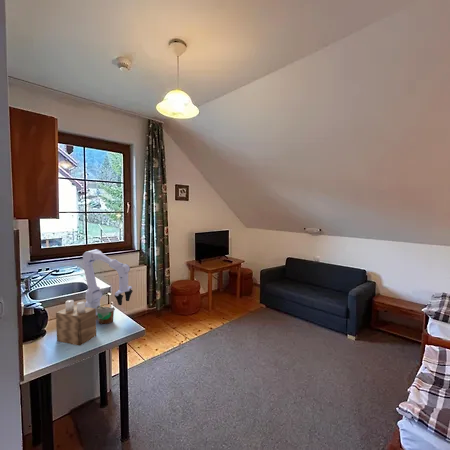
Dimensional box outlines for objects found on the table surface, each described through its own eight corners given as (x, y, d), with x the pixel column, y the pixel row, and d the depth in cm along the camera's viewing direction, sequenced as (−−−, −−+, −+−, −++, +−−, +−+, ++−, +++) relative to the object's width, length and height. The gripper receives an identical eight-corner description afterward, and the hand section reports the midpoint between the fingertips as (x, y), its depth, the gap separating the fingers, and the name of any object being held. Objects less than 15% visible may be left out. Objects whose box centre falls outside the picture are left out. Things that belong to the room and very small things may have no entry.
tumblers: (64, 310, 149) (63, 302, 149) (70, 308, 153) (69, 299, 152) (81, 313, 145) (80, 304, 145) (86, 310, 149) (86, 302, 149)
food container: (91, 323, 169) (91, 308, 168) (98, 319, 175) (98, 304, 174) (108, 326, 166) (108, 310, 165) (115, 322, 172) (114, 307, 171)
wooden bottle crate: (56, 340, 148) (55, 312, 146) (74, 331, 159) (73, 304, 157) (80, 345, 143) (79, 316, 142) (96, 335, 154) (95, 308, 153)
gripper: (121, 286, 169) (121, 307, 170) (135, 280, 183) (135, 299, 184) (112, 285, 171) (112, 306, 172) (126, 279, 185) (127, 298, 186)
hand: (123, 302), depth 178 cm, fingers open, 7 cm apart
